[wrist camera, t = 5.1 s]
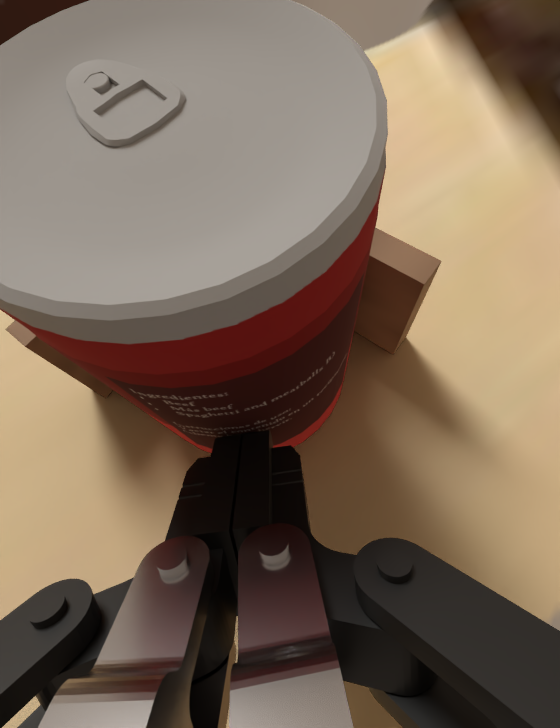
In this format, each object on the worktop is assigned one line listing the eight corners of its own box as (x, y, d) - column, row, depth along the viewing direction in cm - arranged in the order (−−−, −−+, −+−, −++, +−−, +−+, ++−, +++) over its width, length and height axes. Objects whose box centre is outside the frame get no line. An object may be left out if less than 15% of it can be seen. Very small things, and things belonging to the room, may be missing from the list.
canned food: (219, 264, 19) (108, -51, 9) (377, 334, 17) (473, 29, 7) (118, 401, 16) (-197, 190, 6) (286, 503, 14) (218, 433, 4)
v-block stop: (89, 400, 16) (1, 350, 12) (97, 261, 19) (30, 177, 15) (410, 351, 16) (448, 280, 12) (371, 218, 19) (389, 118, 14)
